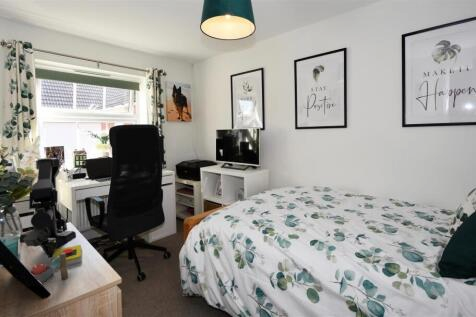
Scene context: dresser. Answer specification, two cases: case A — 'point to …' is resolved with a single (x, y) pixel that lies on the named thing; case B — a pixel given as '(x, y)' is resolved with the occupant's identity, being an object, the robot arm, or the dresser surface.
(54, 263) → the finish flag
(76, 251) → the emergency button
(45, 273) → the popper housing
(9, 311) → the dresser surface
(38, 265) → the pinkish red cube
